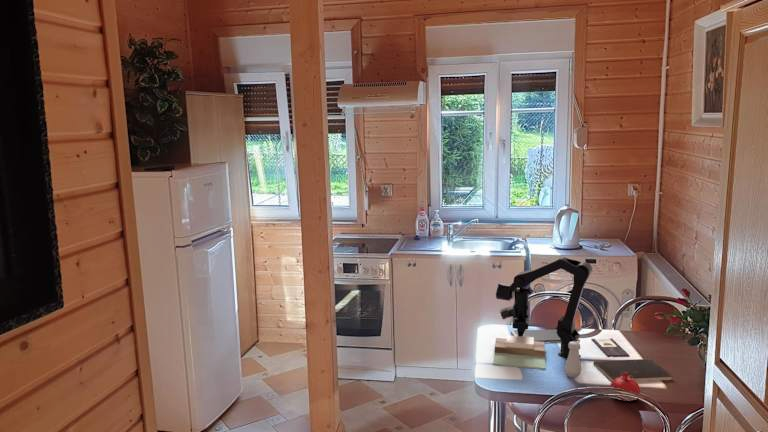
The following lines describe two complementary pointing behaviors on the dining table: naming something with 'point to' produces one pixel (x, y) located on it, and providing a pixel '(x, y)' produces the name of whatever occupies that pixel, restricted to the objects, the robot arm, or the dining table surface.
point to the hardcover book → (633, 369)
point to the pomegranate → (626, 383)
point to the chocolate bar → (610, 347)
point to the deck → (537, 351)
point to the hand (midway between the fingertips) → (520, 337)
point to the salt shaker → (573, 360)
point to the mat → (519, 360)
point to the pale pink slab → (520, 342)
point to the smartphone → (541, 335)
